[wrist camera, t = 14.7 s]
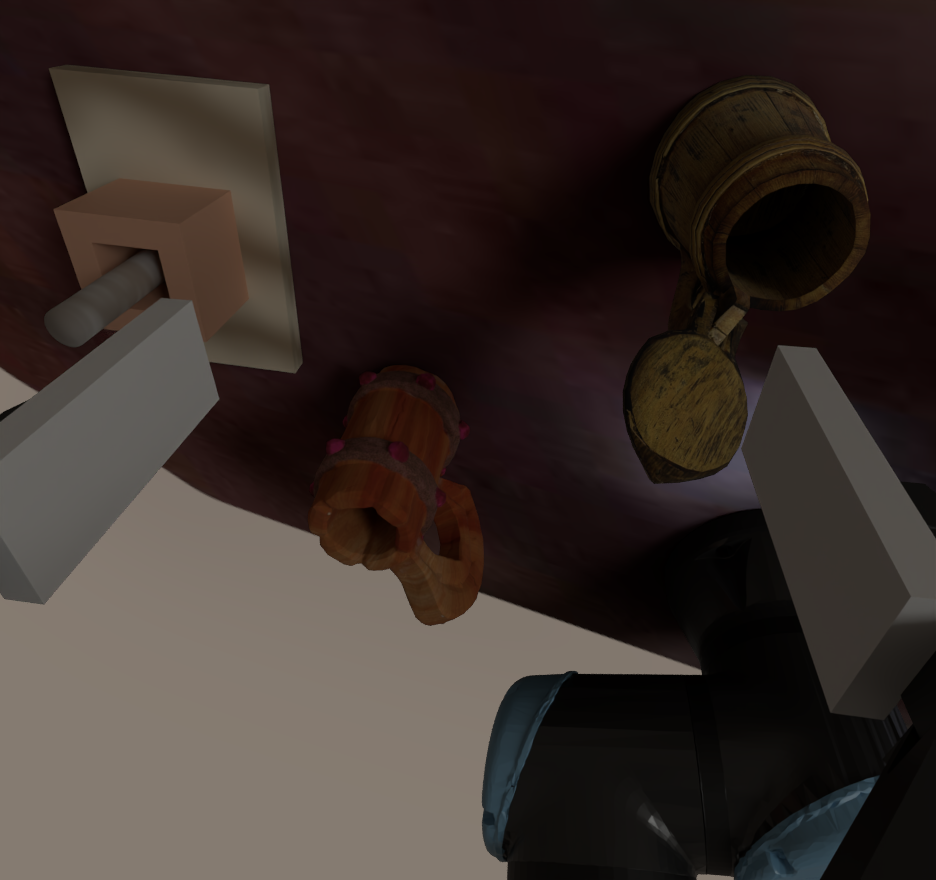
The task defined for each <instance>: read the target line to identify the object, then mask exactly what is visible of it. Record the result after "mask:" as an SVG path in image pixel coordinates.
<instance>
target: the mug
mask: <svg viewBox="0 0 936 880" xmlns="http://www.w3.org/2000/svg"><path fill="white" fill-rule="evenodd" d="M359 380H360V385H361V387H360V388H359V390H358V391H357V392H356V394H355V395H354V397H353V399H352V401H351V402H350V405H349V409H348V412H347V416H345V418H344V420H343V425H344V428H346V429H345V431H344V433H343V435H342V437H341V439H331V440H329V441H327V443H326V452H327V454H326V456H325V457H324V459H323V460H322V462H321V464H320V466H319V468H318V470H317V471H316V474H315V478H314V482H313V483H312V484H311V485H310V489H309V492H310V493H311V495H312V496H313V497H314V498H315V499H314V502H313V504H312V506H311V508H310V510H309V512H308V525H309V529H310V531H311V533H313V534H315V535H318V536H319V537H320V545H321V547H322V548H323V549H324V550H325V552H326V553H327V554H328V555H329V556H331V557H333V558H334V559H336V560H338V561H339V562H341V563H343V564H345V565H349V566H352V565H355V564H359V563H362V564H363V565H364V566H365V567H366V568H367V569H368V570H373V571H375V570H386V569H389V568H390V569H391V571H392V572H393V573H394V574H395V575H396V576H397V577H398V579H399V580H400V582H401V583H402V585H403V588H404V591H405V593H406V596H407V599H408V601H409V603H410V606H411V608H412V610H413V612H414V615H415V617H416V618H417V619H418V620H419V621H420V622H421V623H423V624H425V625H430V626H431V625H436V624H444V623H445V622H447V621H450V620H453V619H455V618H457V617H459V616H460V615H462V614H464V613H465V612H466V611H467V610H468V609H469V608H470V607H471V606H472V605H473V603H474V602H475V600H476V598H477V595H478V591H479V589H480V586H481V583H482V576H483V565H484V555H483V537H482V533H481V528H480V523H479V518H478V514H477V511H476V508H475V505H474V502H473V499H472V497H471V494H470V490H469V489H468V488H467V487H466V486H465V485H459V484H457V483H454V482H452V481H449V480H446V479H442V478H440V477H441V476H443V475H444V474H445V470H446V466H447V465H448V464H449V463H450V461H451V460H452V458H453V457H454V455H455V452H456V450H457V447H458V444H459V442H460V439H464V438H466V437H467V436H468V435H469V432H470V429H469V426H468V425H467V424H466V423H465V422H464V421H462V420H461V419H460V416H459V411H458V408H457V406H456V404H455V401H454V398H453V395H452V392H451V391H450V389H449V388H448V386H447V385H446V383H445V382H443V381H442V380H441V379H440V378H439V377H438V376H436V375H434V374H432V373H429V372H426V371H424V370H422V369H419V368H417V367H413V366H408V365H392V366H388V367H385V368H384V369H382V370H381V371H380V373H377V374H376V373H375V372H371V371H365V372H364V373H362V374H360V376H359ZM433 520H434V522H435V524H436V526H437V530H438V535H439V540H440V554H439V555H435V554H434V553H433V552H432V551H431V550H430V549H429V548H428V546H427V545H426V544H425V542H424V540H423V537H424V534H425V533H426V532H427V531H428V529H429V528H430V527H431V525H432V523H433Z"/></svg>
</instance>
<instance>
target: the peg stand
mask: <svg viewBox="0 0 936 880" xmlns="http://www.w3.org/2000/svg"><path fill="white" fill-rule="evenodd" d="M49 70H50V74H51V77H52V80H53V83H54V87H55V90H56V93H57V96H58V99H59V103H60V106H61V109H62V112H63V115H64V119H65V122H66V125H67V128H68V132H69V135H70V138H71V141H72V144H73V148H74V151H75V154H76V157H77V160H78V164H79V167H80V170H81V173H82V177H83V180H84V183H85V186H86V189H87V193H89V192H91V191H93V190H96V189H98V188H100V187H102V186H104V185H106V184H108V183H110V182H113V181H115V180H117V179H119V178H122V179H131V180H140V181H150V182H159V183H168V184H177V185H186V186H195V187H204V188H213V189H222V190H230V191H231V196H232V202H233V208H234V214H235V220H236V226H237V231H238V237H239V243H240V249H241V255H242V260H243V266H244V272H245V278H246V284H247V290H248V295H249V299H248V300H247V301H246V303H245V304H244V305H243V306H242V307H241V308H240V309H239V310H238V311H237V312H236V313H235V314H234V315H233V316H232V317H231V318H230V319H229V320H228V321H227V322H226V323H225V324H224V325H223V326H222V327H221V328H220V329H219V330H218V331H217V332H216V333H215V334H214V335H213V336H212V337H211V338H210V339H209V340H208V341H207V342H204V346H205V350H206V353H207V357H208V360H209V362H215V363H222V364H230V365H238V366H245V367H253V368H260V369H268V370H275V371H283V372H290V373H296V372H297V370H298V369H299V367H300V366H301V364H302V363H303V361H302V352H301V344H300V336H299V328H298V319H297V311H296V303H295V295H294V287H293V278H292V270H291V262H290V254H289V245H288V237H287V229H286V221H285V212H284V204H283V196H282V188H281V179H280V171H279V163H278V155H277V147H276V138H275V130H274V122H273V114H272V105H271V97H270V89H269V84H258V83H248V82H238V81H227V80H217V79H207V78H196V77H186V76H176V75H165V74H155V73H145V72H135V71H124V70H114V69H104V68H93V67H83V66H73V65H64V66H59V67H54V68H49ZM164 281H166V280H165V276H164V272H163V268H162V264H161V260H160V257H159V253H158V250H151V249H142V250H141V251H139V252H138V253H136V254H135V255H133V256H132V257H130V258H129V259H127V260H126V261H124V262H123V263H121V264H120V265H118V266H117V267H115V268H114V269H112V270H111V271H109V272H108V273H106V274H104V275H103V276H101V277H100V278H98V279H97V280H95V281H94V282H92V283H91V284H89V285H88V286H86V287H85V288H83V289H82V290H80V291H79V292H77V293H76V294H74V295H73V296H71V297H70V298H68V299H67V300H65V301H63V302H62V303H60V304H59V305H57V306H56V307H54V308H53V309H51V310H50V311H48V312H47V313H46V314H45V317H44V322H45V326H46V328H47V330H48V332H49V333H50V334H51V335H52V336H53V337H54V338H55V339H56V340H57V341H59V342H60V343H62V344H64V345H67V346H70V347H79V346H81V345H82V344H84V343H85V342H86V341H88V340H89V339H90V338H92V337H93V336H94V335H95V334H97V333H98V332H99V331H101V330H102V329H103V328H105V327H106V326H107V325H108V324H110V323H111V322H112V321H114V320H115V319H116V318H118V317H119V316H120V315H121V314H123V313H124V312H125V311H127V310H128V309H129V308H131V307H132V306H133V305H134V304H136V303H137V302H138V301H140V300H141V299H142V298H143V297H145V296H146V295H147V294H149V293H150V292H151V291H153V290H154V289H155V288H156V287H158V286H159V285H160V284H162V283H163V282H164Z"/></svg>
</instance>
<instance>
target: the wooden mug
mask: <svg viewBox="0 0 936 880" xmlns="http://www.w3.org/2000/svg"><path fill="white" fill-rule="evenodd" d="M649 184H650V203H651V205H652V208H653V210H654V213H655V215H656V218H657V221H658V223H659V225H660V226H661V228H662V230H663V232H664V234H665V236H666V237H667V239H668V240H669V241H670V242H671V243H672V244H673V245H674V246H675V247H676V248H677V249H679V250H680V252H681V263H682V265H681V270H680V275H679V280H678V284H677V288H676V292H675V295H674V299H673V303H672V308H671V313H670V317H669V322H668V331H667V332H664V333H661V334H659V335H656V336H654V337H651V338H649V339H648V340H647V342H646V343H645V344H644V345H643V346H642V348H641V349H640V350H639V352H638V353H637V355H636V356H635V358H634V360H633V361H632V363H631V365H630V368H629V370H628V373H627V376H626V380H625V385H624V389H623V414H624V419H625V423H626V428H627V432H628V435H629V437H630V440H631V443H632V446H633V448H634V450H635V452H636V454H637V456H638V458H639V460H640V462H641V464H642V466H643V468H644V470H645V472H646V474H647V476H648V478H649V479H650V480H651V481H652V482H653V483H654V484H659V483H680V482H685V481H691V480H697V479H701V478H704V477H708V476H711V475H714V474H716V473H717V472H719V471H720V470H722V469H723V468H725V467H726V466H728V464H729V462H730V461H731V459H732V457H733V456H734V454H735V453H736V451H737V449H738V448H739V446H740V443H741V440H742V436H743V433H744V430H745V425H746V421H747V416H748V411H747V397H746V393H745V389H744V384H743V381H742V378H741V374H740V371H739V368H738V365H737V363H736V360H735V354H736V350H737V347H738V344H739V341H740V338H741V336H742V334H743V332H744V330H745V328H746V326H747V324H748V323H747V322H746V321H745V320H744V319H743V318H742V317H743V316H744V315H745V314H746V313H747V312H748V310H749V307H750V308H755V309H760V310H771V311H786V310H794V309H799V308H802V307H804V306H806V305H808V304H811V303H813V302H815V301H818V300H819V299H820V298H822V297H823V296H825V295H826V294H828V293H829V292H831V291H832V290H833V289H834V288H835V287H837V286H838V285H839V284H840V283H841V282H842V281H843V280H844V279H845V278H847V277H848V276H849V275H850V274H851V272H852V271H853V269H854V268H855V267H856V265H857V264H858V262H859V261H860V260H861V258H862V257H863V255H864V254H865V252H866V248H867V244H868V240H869V236H870V211H869V206H868V196H867V192H866V188H865V184H864V180H863V177H862V174H861V171H860V168H859V167H858V166H857V164H856V163H855V162H854V161H853V160H852V158H851V157H850V156H849V155H848V154H847V152H846V151H845V150H843V149H841V148H840V147H838V146H836V145H835V144H833V143H831V141H830V138H829V135H828V131H827V128H826V125H825V121H824V119H823V118H822V117H821V115H820V114H819V112H818V111H817V109H816V107H815V106H814V104H813V102H812V101H811V99H810V98H809V97H808V96H807V95H806V94H804V93H803V92H802V91H801V90H799V89H798V88H797V87H796V86H794V85H793V84H791V83H788V82H785V81H783V80H780V79H777V78H774V77H771V76H752V75H745V76H741V77H737V78H733V79H730V80H726V81H722V82H719V83H717V84H716V85H714V86H712V87H710V88H708V89H706V90H704V91H702V92H701V93H699V94H697V95H696V96H695V97H694V98H693V99H692V100H691V101H690V102H689V103H688V104H687V105H686V106H685V107H684V108H683V109H682V110H681V111H680V112H679V113H678V114H677V116H676V117H675V119H674V120H673V122H672V123H671V125H670V126H669V127H668V129H667V130H666V132H665V133H664V135H663V137H662V139H661V142H660V144H659V146H658V148H657V150H656V152H655V156H654V160H653V164H652V168H651V172H650V176H649Z"/></svg>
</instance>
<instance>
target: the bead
mask: <svg viewBox="0 0 936 880" xmlns="http://www.w3.org/2000/svg"><path fill="white" fill-rule="evenodd" d="M53 210H54V213H55V216H56V218H57V221H58V224H59V227H60V230H61V233H62V236H63V238H64V241H65V244H66V247H67V250H68V253H69V255H70V258H71V261H72V264H73V267H74V270H75V273H76V275H77V278H78V281H79V284H80V287H81V290H82V289H83V288H85V287H86V286H88V285H89V284H91V283H92V282H94V281H95V280H97V279H98V278H100V277H101V276H103V275H104V274H106V273H108V272H109V271H111V270H112V269H114V268H115V267H117V266H118V265H120V264H121V263H123V262H124V261H126V260H127V259H129V258H130V257H132V256H133V255H135V254H136V253H138V252H139V251H141V250H142V249H151V250H158V253H159V257H160V260H161V264H162V268H163V272H164V276H165V280H166V281H164V282H163V283H162V284H160V285H159V286H158V287H156V288H155V289H154V290H153V291H151V292H150V293H149V294H147V295H146V296H145V297H143V298H142V299H141V300H140V301H138V302H137V303H136V304H134V305H133V306H132V307H131V308H129V309H128V310H127V311H125V312H124V313H123V314H121V315H120V316H119V317H118V318H116V319H115V320H114V321H112V322H111V323H110V324H108V325H107V326H106V327H105V328H103V329H108V330H116V331H119V330H120V329H122V328H123V327H124V326H125V325H127V324H128V323H129V322H131V321H132V320H133V319H135V318H136V317H137V316H138V315H140V314H141V313H142V312H144V311H145V310H146V309H148V308H149V307H150V306H151V305H153V304H154V303H155V302H157V301H158V300H159V299H161V298H168V299H181V300H192V303H193V306H194V310H195V314H196V317H197V321H198V324H199V328H200V332H201V335H202V339H203V342H207V341H208V340H209V339H210V338H211V337H212V336H213V335H214V334H215V333H216V332H217V331H218V330H219V329H220V328H221V327H222V326H223V325H224V324H225V323H226V322H227V321H228V320H229V319H230V318H231V317H232V316H233V315H234V314H235V313H236V312H237V311H238V310H239V309H240V308H241V307H242V306H243V305H244V304H245V303H246V301H247V300H248V299H249V295H248V290H247V284H246V278H245V272H244V266H243V260H242V255H241V249H240V243H239V237H238V231H237V226H236V220H235V214H234V208H233V202H232V196H231V191H230V190H222V189H213V188H204V187H195V186H186V185H177V184H168V183H159V182H150V181H140V180H131V179H122V178H119V179H117V180H115V181H113V182H110V183H108V184H106V185H104V186H102V187H100V188H98V189H96V190H93V191H91V192H89V193H87V194H85V195H83V196H81V197H79V198H76V199H74V200H72V201H70V202H68V203H66V204H64V205H62V206H59V207H57V208H55V209H53Z"/></svg>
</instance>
